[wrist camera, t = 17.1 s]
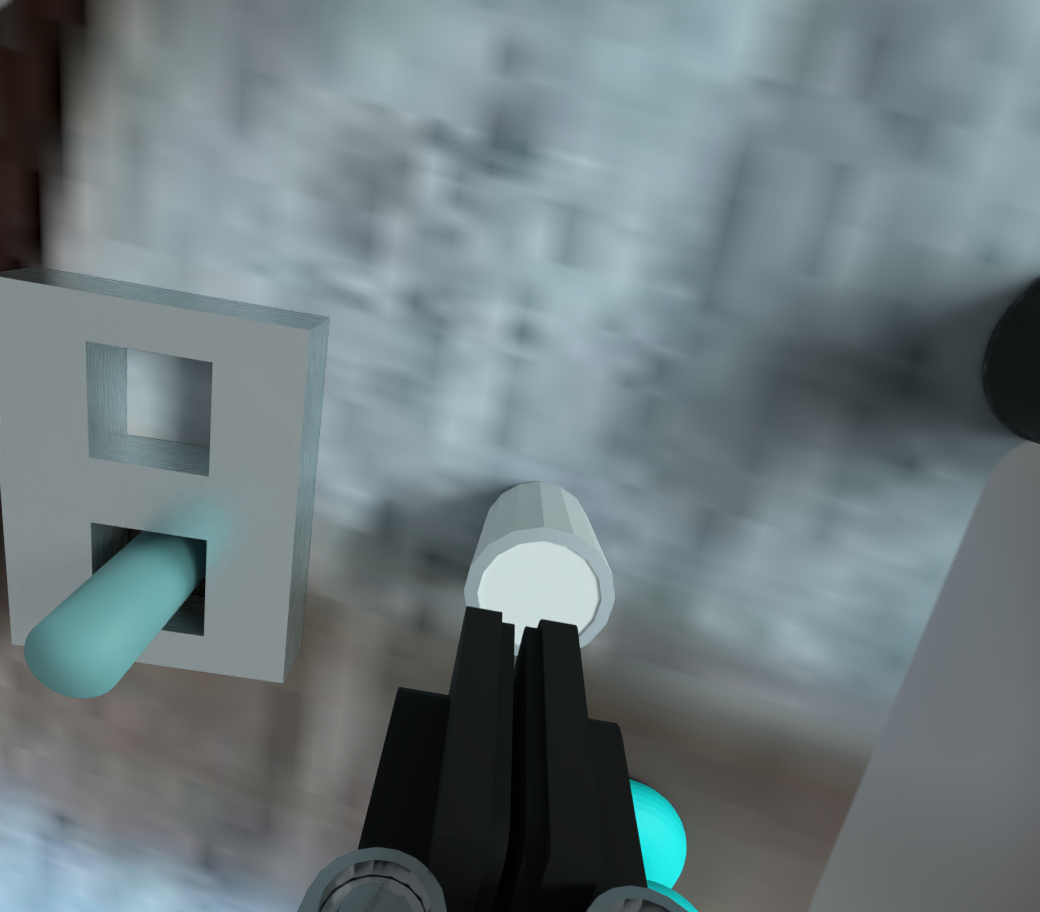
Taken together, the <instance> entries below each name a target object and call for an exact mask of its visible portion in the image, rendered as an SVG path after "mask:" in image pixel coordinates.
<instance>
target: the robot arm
mask: <svg viewBox="0 0 1040 912" xmlns="http://www.w3.org/2000/svg"><path fill="white" fill-rule="evenodd" d="M514 645H515V624H511V623H505V622H502V612H499V611H493V610H488V609H482V608H476V607H471V606H467V607H466V611H465V616H464V621H463V625H462V630H461V635H460V640H459V645H458V650H457V655H456V660H455V665H454V670H453V675H452V680H451V685H450V690H449V695H444V694H438V693H432V692H426V691H420V690H414V689H408V688H402V687H399V688H398V691H397V695H396V699H395V703H394V707H393V711H392V715H391V719H390V723H389V727H388V731H387V735H386V739H385V743H384V747H383V751H382V755H381V759H380V763H379V767H378V771H377V775H376V779H375V783H374V787H373V791H372V795H371V799H370V803H369V807H368V811H367V815H366V819H365V823H364V827H363V831H362V835H361V839H360V843H359V847H358V850H355V851H353V852H350V853H348V854H346V855H343V856H341V857H339V858H336V859H335V860H334V861H333V862H332V863H330V864H329V865H328V866H327V867H325V868H324V869H323V870H322V871H320V873H319V874H318V875H317V877H316V878H315V880H314V881H313V883H312V884H311V886H310V887H309V889H308V890H307V892H306V894H305V896H304V899H303V901H302V903H301V905H300V907H299V909H298V911H297V912H688V911H687V910H686V909H684V908H683V907H682V906H680V905H679V904H678V903H676V902H675V901H674V900H673V899H671V898H670V897H668V896H666V895H663V894H661V893H659V892H657V891H654V890H652V889H650V888H648V886H647V880H646V874H645V868H644V862H643V856H642V851H641V845H640V839H639V833H638V827H637V821H636V815H635V809H634V804H633V798H632V792H631V786H630V780H629V774H628V768H627V763H626V757H625V751H624V745H623V739H622V734H621V730H620V727H619V726H618V724H617V723H612V722H606V721H600V720H594V719H588V713H587V705H586V696H585V687H584V678H583V669H582V661H581V652H580V643H579V634H578V628H577V626H576V625H573V624H568V623H562V622H556V621H551V620H545V619H541V620H540V621H539V624H538V627H537V628H534V627H528V626H525V628H524V631H523V635H522V639H521V643H520V647H519V651H518V656H517V660H516V664H515V668H514Z"/></svg>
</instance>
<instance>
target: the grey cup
mask: <svg viewBox="0 0 1040 912" xmlns="http://www.w3.org/2000/svg"><path fill="white" fill-rule="evenodd" d="M464 597H465V602H466V607H467V606H471V607H476V608H482V609H488V610H493V611H499V612H502V622H505V623H511V624H515V645H514V655H516V656H518V651H519V647H520V643H521V639H522V635H523V631H524V628H525V626H528V627H534V628H537V627H538V624H539V621H540V620H541V619H545V620H551V621H556V622H562V623H568V624H573V625H576V626H577V628H578V634H579V643H580V648H581V647H583V646H585V645H587V644H589V642H590V641H591V640H592V639H593V638H594V637H595V636H596V635H597V634H598V633H599V632H600V630H601V629H602V628H603V627H604V626H605V625H606V624H607V621H608V618H609V615H610V612H611V609H612V607H613V604H614V601H615V595H614V586H613V577H612V572H611V570H610V568H609V565H608V563H607V561H606V559H605V556H604V554H603V552H602V549H601V547H600V545H599V543H598V540H597V538H596V536H595V534H594V531H593V529H592V527H591V525H590V522H589V520H588V518H587V515H586V513H585V512H584V510H583V508H582V507H581V505H580V504H579V502H578V500H577V499H576V497H574V496H573V495H571V494H570V493H568V492H567V491H566V490H564V489H563V488H561V487H560V486H556V485H552V484H548V483H544V482H532V483H525V484H519V485H517V486H515V487H513V488H511V489H509V490H508V491H506V492H504V493H502V494H501V495H500V496H499V497H498V499H497V500H496V501H495V502H494V504H493V505H492V506H491V507H490V509H489V511H488V514H487V517H486V520H485V523H484V526H483V529H482V532H481V535H480V539H479V542H478V545H477V548H476V551H475V554H474V557H473V560H472V563H471V566H470V570H469V573H468V577H467V581H466V585H465V589H464Z"/></svg>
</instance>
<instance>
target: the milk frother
mask: <svg viewBox="0 0 1040 912" xmlns="http://www.w3.org/2000/svg"><path fill="white" fill-rule="evenodd" d="M984 389H985V393H986V396H987V400H988V402H989V405H990V407H991V409H992V410H993V412H994V414H995V415H996V417H997V418H998V420H999V421H1000V422H1001V423H1003V424H1004V426H1005V427H1006V428H1008V429H1009V430H1010V431H1012V432H1013V433H1014V434H1017V435H1018V436H1020V437H1022V438H1025V439H1027V440H1030V441H1032V442H1035V443H1039V444H1040V282H1038V283H1036V284H1035V285H1034V286H1033V287H1031V288H1030V289H1029V290H1028V291H1027V292H1025V293H1024V294H1023V295H1022V296H1021V297H1020V299H1019V300H1018V301H1016V302H1015V303H1014V304H1013V305H1012V306H1011V308H1010V309H1009V310H1008V312H1007V313H1006V315H1005V316H1004V317H1003V319H1002V320H1001V321H1000V323H999V325H998V326H997V327H996V329H995V331H994V333H993V336H992V338H991V341H990V343H989V346H988V350H987V353H986V356H985V363H984Z"/></svg>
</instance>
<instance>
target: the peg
mask: <svg viewBox="0 0 1040 912" xmlns="http://www.w3.org/2000/svg"><path fill="white" fill-rule="evenodd" d="M206 555H207V540H202V539H196V538H189V537H183V536H176V535H170V534H163V533H157V532H150V531H144V530H143V531H142V532H141V533H139V534H138V535H137V536H136V537H135V538H134V539H133V540H132V541H130V542H129V543H128V544H127V545H126V546H125V547H124V548H123V549H121V550H120V551H119V552H118V553H117V554H116V555H115V556H114V557H112V558H111V559H110V560H109V561H108V562H107V563H106V564H105V565H103V566H102V567H101V568H100V569H99V570H98V571H97V572H96V573H94V574H93V575H92V576H91V577H90V578H89V579H88V580H87V581H85V582H84V583H83V584H82V585H81V586H80V587H79V588H78V589H77V590H75V591H74V592H73V593H72V594H71V595H70V596H69V597H68V598H66V599H65V600H64V601H63V602H62V603H61V604H60V605H59V606H57V607H56V608H55V609H54V610H53V611H52V612H51V613H50V614H48V615H47V616H46V617H45V618H44V619H43V620H42V621H41V622H39V623H38V624H37V625H36V626H35V627H34V628H33V629H32V630H31V631H30V632H29V634H28V636H27V638H26V641H25V645H24V653H25V659H26V662H27V664H28V666H29V668H30V670H31V671H32V673H33V674H34V675H35V677H36V678H37V679H38V680H39V681H40V682H41V683H43V684H44V685H45V686H47V687H48V688H50V689H51V690H53V691H55V692H57V693H60V694H62V695H65V696H69V697H74V698H92V697H97V696H100V695H102V694H105V693H106V692H108V691H109V690H111V689H112V688H113V687H114V686H115V685H116V684H117V682H118V681H119V680H120V679H121V678H122V676H123V675H124V674H125V673H126V672H127V670H128V669H129V668H130V667H131V666H132V664H133V663H134V662H135V661H136V659H137V658H138V657H139V656H140V655H141V653H142V652H143V651H144V650H145V649H146V647H147V646H148V645H149V644H150V643H151V641H152V640H153V639H154V638H155V636H156V635H157V634H158V633H159V632H160V630H161V629H162V628H163V627H164V626H165V624H166V623H167V622H168V621H169V620H170V618H171V617H172V616H173V615H174V613H175V612H176V611H177V610H178V609H179V607H180V606H181V605H182V604H183V603H184V601H185V600H186V599H187V598H188V597H189V595H190V594H191V593H192V592H193V590H194V589H195V588H196V587H197V586H198V584H199V583H200V582H201V581H202V580H203V578H204V577H205V576H206Z"/></svg>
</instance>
